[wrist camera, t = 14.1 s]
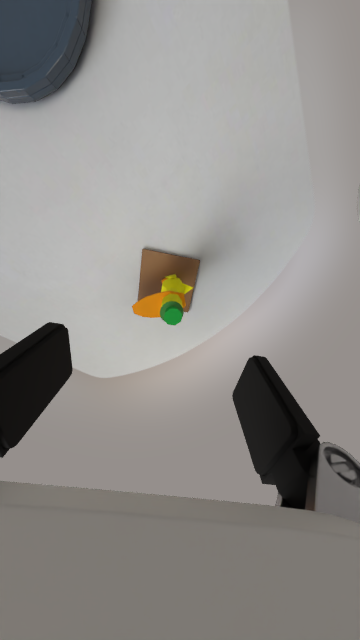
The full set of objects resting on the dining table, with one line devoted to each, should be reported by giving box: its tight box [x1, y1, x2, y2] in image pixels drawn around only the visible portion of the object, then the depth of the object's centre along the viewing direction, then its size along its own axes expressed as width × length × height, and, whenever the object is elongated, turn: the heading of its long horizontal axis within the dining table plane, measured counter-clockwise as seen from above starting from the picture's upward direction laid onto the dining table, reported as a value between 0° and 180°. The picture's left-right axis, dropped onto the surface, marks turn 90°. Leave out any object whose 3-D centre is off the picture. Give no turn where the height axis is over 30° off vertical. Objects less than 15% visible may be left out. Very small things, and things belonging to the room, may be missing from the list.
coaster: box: [138, 249, 200, 312], centre depth 26 cm, size 8×8×1 cm
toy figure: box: [132, 274, 193, 325], centre depth 20 cm, size 7×4×12 cm, turn 100°
